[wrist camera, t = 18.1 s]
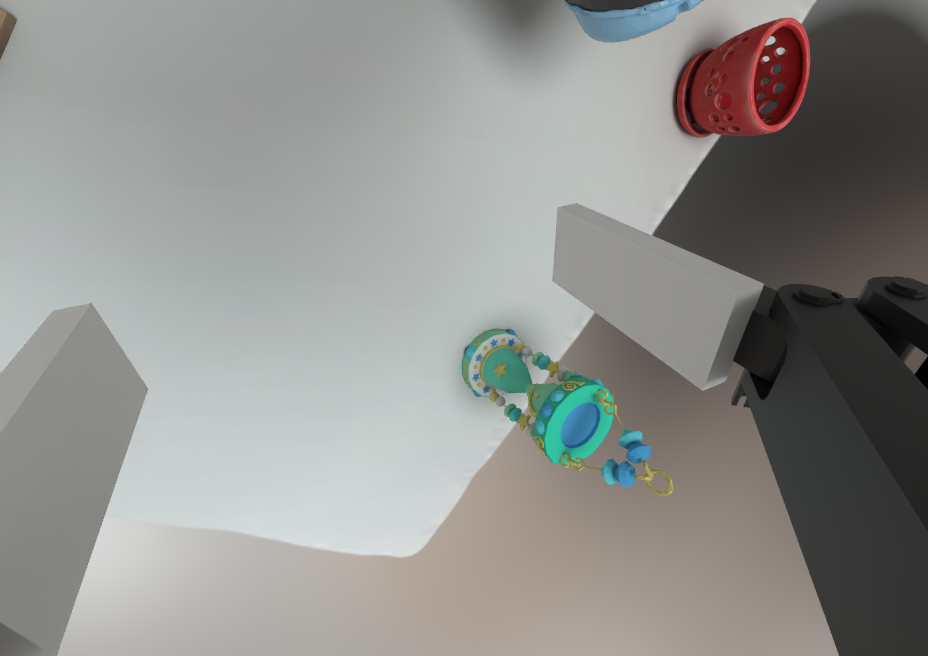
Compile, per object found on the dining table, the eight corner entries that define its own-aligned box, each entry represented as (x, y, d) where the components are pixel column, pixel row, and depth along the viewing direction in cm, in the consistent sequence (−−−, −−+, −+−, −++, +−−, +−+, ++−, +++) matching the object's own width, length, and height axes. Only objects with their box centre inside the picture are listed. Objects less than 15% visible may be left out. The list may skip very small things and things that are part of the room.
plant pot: (733, 98, 66) (820, 84, 56) (684, 158, 66) (765, 155, 56) (709, 20, 59) (805, -11, 49) (655, 87, 58) (741, 68, 48)
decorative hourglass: (481, 314, 57) (673, 423, 32) (533, 340, 63) (729, 449, 38) (445, 383, 57) (604, 541, 32) (500, 402, 63) (670, 549, 38)
